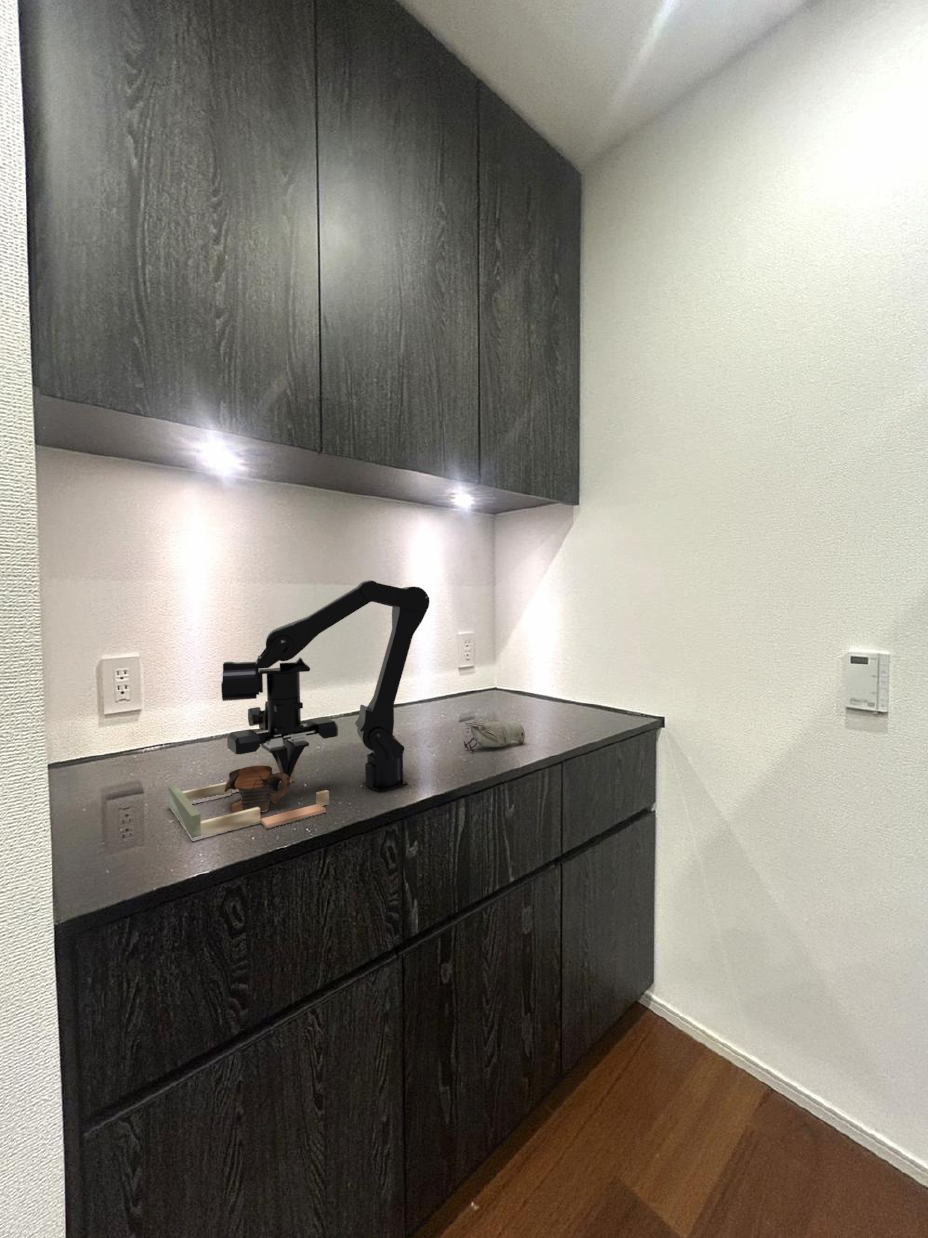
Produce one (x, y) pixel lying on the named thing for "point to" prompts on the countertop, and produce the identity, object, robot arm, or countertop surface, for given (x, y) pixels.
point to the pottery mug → (257, 787)
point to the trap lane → (197, 828)
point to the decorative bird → (495, 733)
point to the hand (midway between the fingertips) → (286, 780)
